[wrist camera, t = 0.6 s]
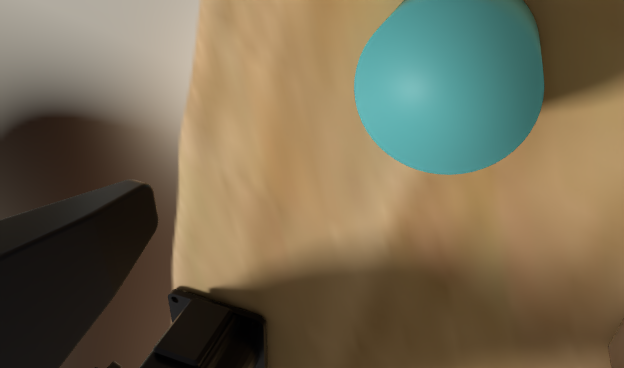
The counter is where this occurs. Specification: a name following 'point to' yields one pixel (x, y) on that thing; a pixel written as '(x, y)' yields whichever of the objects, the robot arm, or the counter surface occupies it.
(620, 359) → the tower base
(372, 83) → the teal round block
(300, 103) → the counter surface
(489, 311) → the counter surface
